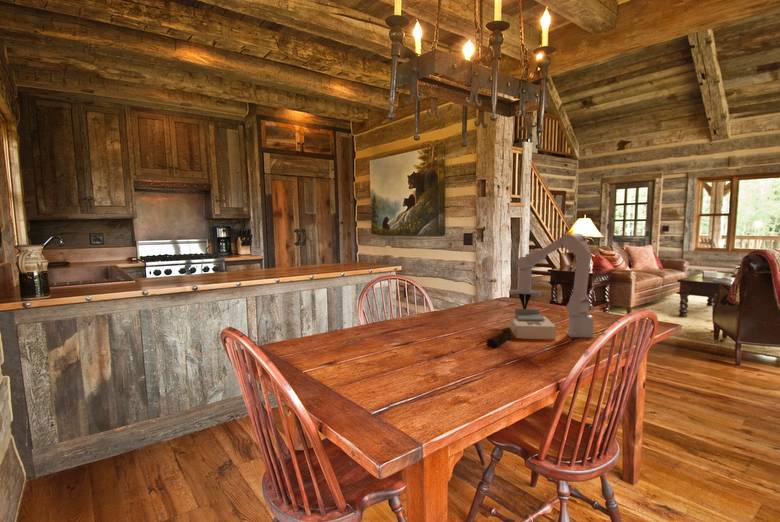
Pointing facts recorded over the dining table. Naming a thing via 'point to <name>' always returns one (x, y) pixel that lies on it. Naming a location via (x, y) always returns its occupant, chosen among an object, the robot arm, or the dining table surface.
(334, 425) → the dining table surface
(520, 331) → the housing
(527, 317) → the cover
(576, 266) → the robot arm
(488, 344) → the hand tool
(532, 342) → the dining table surface
